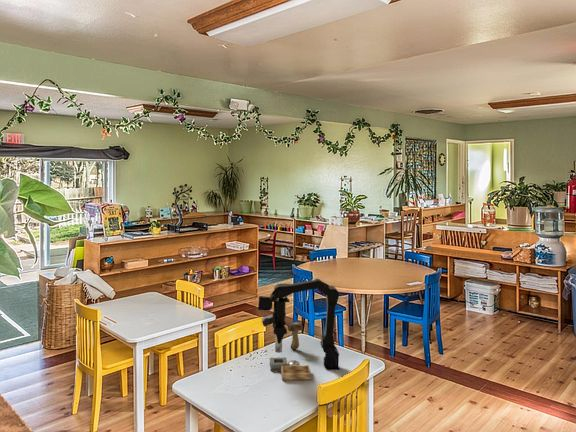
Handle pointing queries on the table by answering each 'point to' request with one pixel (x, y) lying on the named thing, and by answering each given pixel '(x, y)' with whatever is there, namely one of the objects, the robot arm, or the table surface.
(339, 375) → the table surface
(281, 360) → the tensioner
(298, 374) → the tray
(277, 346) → the pin
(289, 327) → the mushroom
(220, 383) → the table surface
